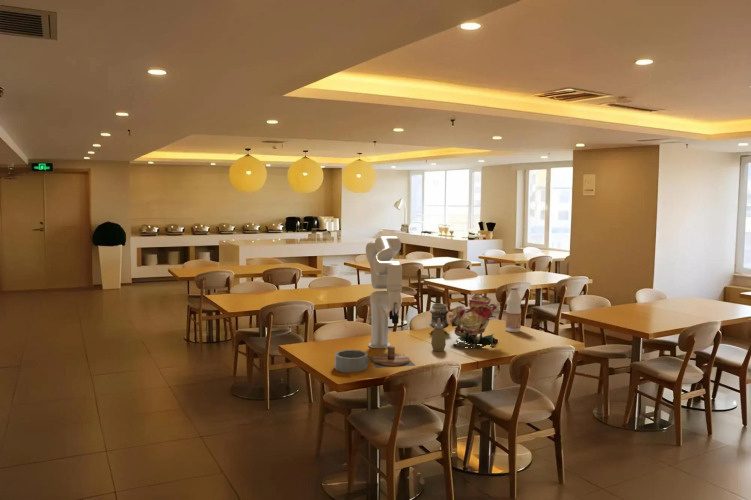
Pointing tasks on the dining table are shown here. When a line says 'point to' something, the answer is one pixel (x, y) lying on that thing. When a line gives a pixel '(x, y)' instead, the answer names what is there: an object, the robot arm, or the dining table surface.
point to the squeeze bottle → (438, 337)
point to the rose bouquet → (473, 322)
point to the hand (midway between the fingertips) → (393, 321)
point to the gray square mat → (390, 366)
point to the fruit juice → (513, 311)
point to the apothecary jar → (439, 315)
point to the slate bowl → (351, 361)
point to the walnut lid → (391, 358)
